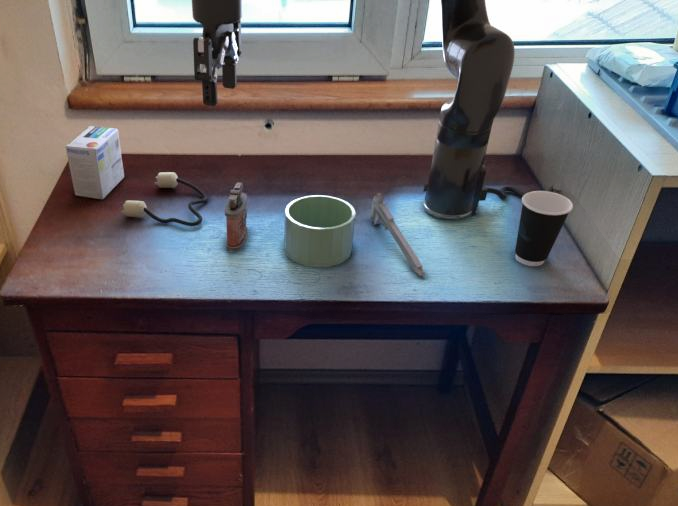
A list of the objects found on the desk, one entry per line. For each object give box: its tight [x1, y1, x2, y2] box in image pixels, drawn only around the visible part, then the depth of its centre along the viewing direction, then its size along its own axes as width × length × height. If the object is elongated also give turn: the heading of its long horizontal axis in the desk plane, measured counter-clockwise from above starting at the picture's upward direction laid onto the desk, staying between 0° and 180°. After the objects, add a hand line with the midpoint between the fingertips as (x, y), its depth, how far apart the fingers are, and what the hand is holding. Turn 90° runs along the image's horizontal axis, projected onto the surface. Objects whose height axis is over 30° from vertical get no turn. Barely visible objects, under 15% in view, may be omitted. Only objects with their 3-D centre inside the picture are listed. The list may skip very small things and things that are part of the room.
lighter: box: [224, 182, 248, 252], centre depth 117 cm, size 8×3×10 cm, turn 168°
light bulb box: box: [65, 125, 125, 200], centre depth 133 cm, size 11×7×11 cm, turn 164°
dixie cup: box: [514, 190, 574, 267], centre depth 111 cm, size 8×8×11 cm
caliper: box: [369, 192, 426, 277], centre depth 116 cm, size 20×1×6 cm, turn 16°
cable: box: [121, 171, 208, 227], centre depth 129 cm, size 16×16×4 cm
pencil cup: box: [283, 194, 357, 268], centre depth 115 cm, size 12×12×8 cm
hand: (220, 96), depth 107 cm, fingers open, 8 cm apart
